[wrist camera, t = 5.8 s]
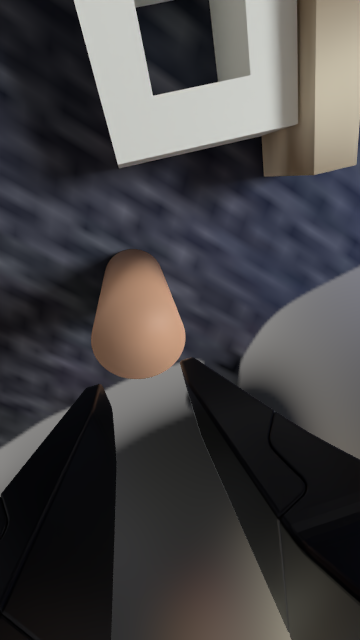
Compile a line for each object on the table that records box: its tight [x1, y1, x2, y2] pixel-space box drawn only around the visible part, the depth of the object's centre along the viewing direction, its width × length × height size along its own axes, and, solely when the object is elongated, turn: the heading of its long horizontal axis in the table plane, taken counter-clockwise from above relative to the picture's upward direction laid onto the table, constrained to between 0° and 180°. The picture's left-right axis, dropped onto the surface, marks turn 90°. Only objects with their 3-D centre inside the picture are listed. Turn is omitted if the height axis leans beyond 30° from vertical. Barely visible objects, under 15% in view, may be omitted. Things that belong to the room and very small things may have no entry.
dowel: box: [91, 249, 185, 379], centre depth 15 cm, size 4×4×8 cm
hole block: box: [74, 0, 298, 168], centre depth 12 cm, size 8×8×4 cm
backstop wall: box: [262, 0, 360, 177], centre depth 12 cm, size 12×2×5 cm, turn 12°
